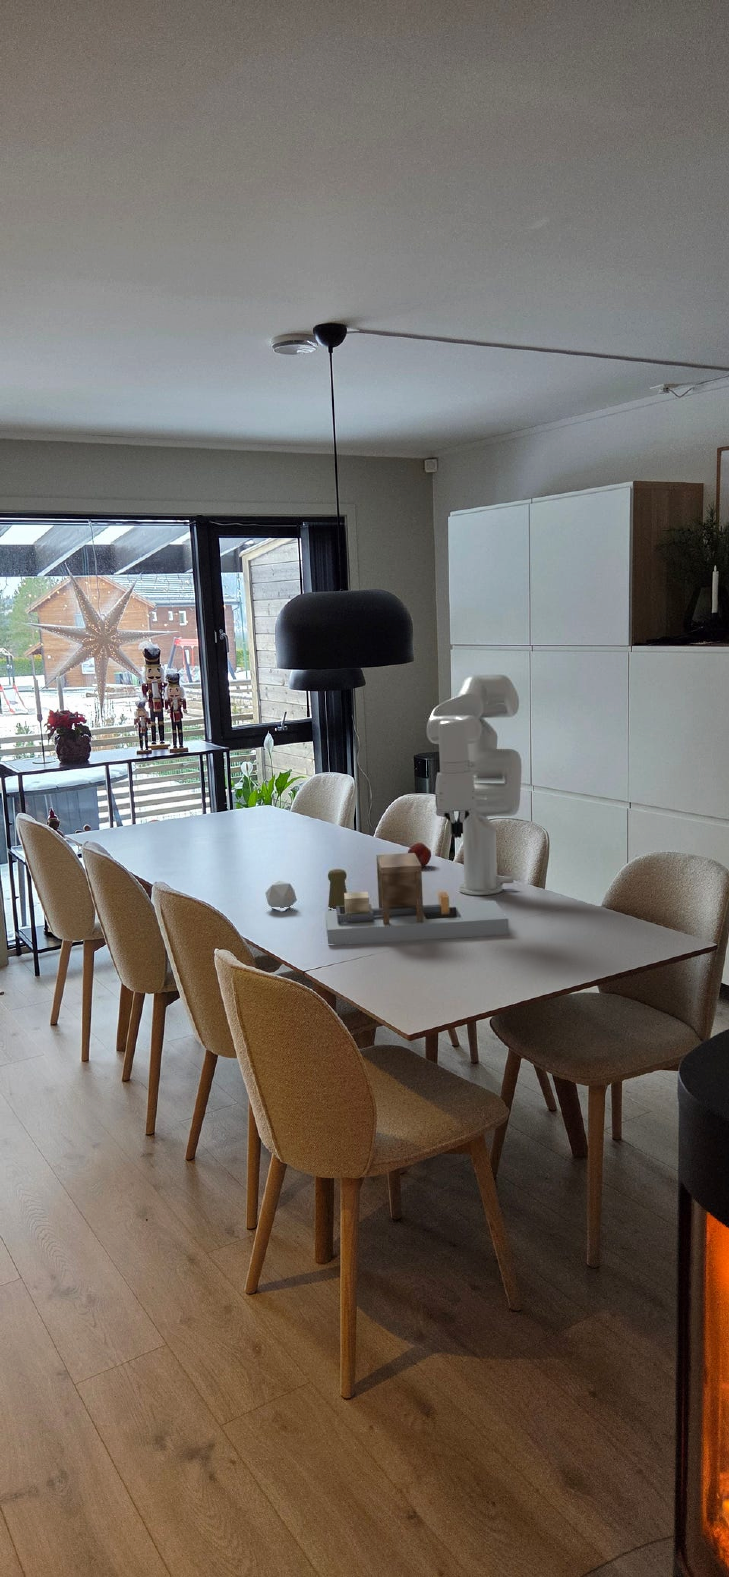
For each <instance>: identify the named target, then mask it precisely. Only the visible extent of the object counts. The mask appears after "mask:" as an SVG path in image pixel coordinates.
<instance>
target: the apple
mask: <svg viewBox="0 0 729 1577" xmlns="http://www.w3.org/2000/svg"><path fill="white" fill-rule="evenodd" d="M407 853H415V855H416V856H417V858H418V860H419V862H420V864H421V868H424V867H426V866H427V865H428V864H429V862H430V861H431V858H432V852H431V849H430V848H428V846H426V845H425V843H423V842H417V843H414V844H413V845H412V846H411V847H409V849H408V851H407Z"/></svg>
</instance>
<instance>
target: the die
mask: <svg viewBox="0 0 729 1577" xmlns="http://www.w3.org/2000/svg"><path fill="white" fill-rule="evenodd" d="M265 897H266V898H265V899H266V901H267V904H268V905H269V907H270V906H271V907H280V908H284V907H290V906H291V905H292V906H293V905H294V904H295V903H296V901H298V900H297V895H296V892H295V889H294V888H293V886H292V884H291V883H290V882H285V881H281V880H278V881H276V882H275V883H274V884H272V885H270V886H269V888H268V889H267V890H266V891H265ZM292 906H291V907H292ZM271 907H270V908H271ZM291 907H290V908H291Z"/></svg>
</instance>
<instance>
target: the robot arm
mask: <svg viewBox="0 0 729 1577" xmlns="http://www.w3.org/2000/svg"><path fill="white" fill-rule="evenodd" d="M519 707H520V701H519V694H518V692H517V690H516V688H515V685H514V684H513V682H512V680H511V679H510V678H509V677H508V676H507V675H504V674H477V675H476V674H475V675H471V676H468V677H466V678H465V679H464V680H463V681H462V682H461V685H460V687H459V689H458V692H457V694H456V696H454V697H453V698H450V699H448V700H446V701H443V702H442V703H440V704H438V705H437V706H435V707H434V708H433V709H432V711H431V714H430V716H429V718H428V720H427V723H426V735H427V736H426V737H427V738H428V741H430V743H432V744H433V745H434V744H435V745H438V751H439V752H438V753H439V772H437V773H436V780H435V796H434V797H435V798H434V799H435V800H434V802H435V807H436V809H435V816H437V817H441V818H445V819H447V820H448V821H449V822H450V834H451V835H453V837H454V839H458V838H462V842H463V843H462V844H463V846H462V847H463V852H462V853H463V873H464V874H463V877H464V879H463V880H464V883H462V884H461V885H459V886H458V888H459V890H458V891H459V892H460V893H463V894H465V895H468V896H469V895H471V896H487V895H495V894H499V893H500V892H502V891H503V889H504V888H503V887H504V886H503V885H504V884H514V877H513V876H507V875H502V876H500V875H499V874H498V870H497V869H498V866H497V865H498V863H497V860H498V859H497V834H496V832H497V831H496V829H495V826H494V825H493V823H492V822H491V820H490V819H489V818H488V817H513V816H516V815H517V813H519V810H520V804H521V791H522V790H521V787H522V767H523V766H522V758H521V755H520V753H519V752H518V751H517V750H515V749H514V748H513V749H512V748H498V733H497V731H496V730H495V729H494V728H493V727H492V725H491V724H490V723H489V722H488V721H487V720H486V718H488V719H489V718H491V719H492V718H494V719H495V718H512V717H514V716H515V715H516V714H518V710H519ZM494 782H496V783H494ZM455 812H458V813H457V819H456V817H455V816H456V815H455Z"/></svg>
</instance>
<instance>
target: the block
mask: <svg viewBox="0 0 729 1577" xmlns="http://www.w3.org/2000/svg"><path fill="white" fill-rule="evenodd" d="M344 901H345V914H353V913H370V910H369V904H370V896H369V893H368V891H360V892H347V893H344Z"/></svg>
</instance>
